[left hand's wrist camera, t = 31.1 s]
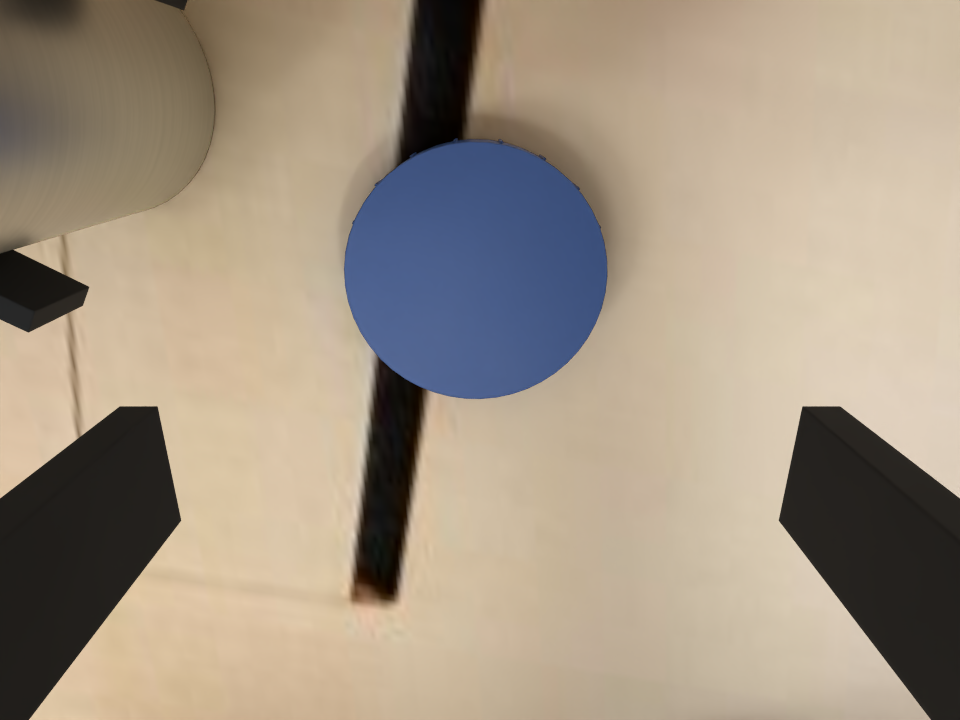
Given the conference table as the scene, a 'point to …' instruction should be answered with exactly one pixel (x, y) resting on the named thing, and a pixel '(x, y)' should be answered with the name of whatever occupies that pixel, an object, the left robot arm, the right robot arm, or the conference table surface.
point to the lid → (475, 269)
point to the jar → (96, 113)
